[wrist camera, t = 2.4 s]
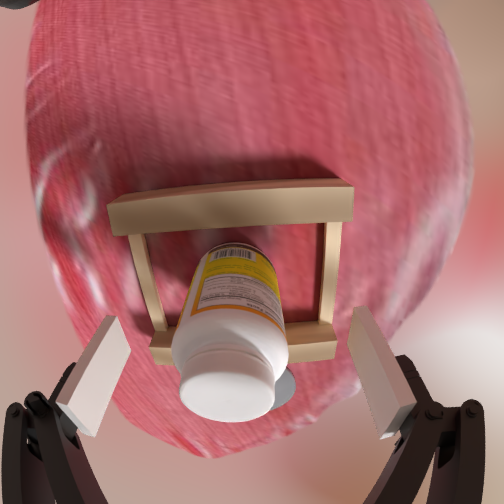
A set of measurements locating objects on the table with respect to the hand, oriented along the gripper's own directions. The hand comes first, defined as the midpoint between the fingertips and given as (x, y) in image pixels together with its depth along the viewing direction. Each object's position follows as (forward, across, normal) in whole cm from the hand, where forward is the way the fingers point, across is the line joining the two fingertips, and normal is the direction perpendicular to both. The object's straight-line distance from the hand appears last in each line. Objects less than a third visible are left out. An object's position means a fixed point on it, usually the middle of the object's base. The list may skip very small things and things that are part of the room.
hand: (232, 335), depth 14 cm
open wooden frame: (+6, 0, 0) cm, 6 cm away
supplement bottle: (+6, 0, 0) cm, 6 cm away
